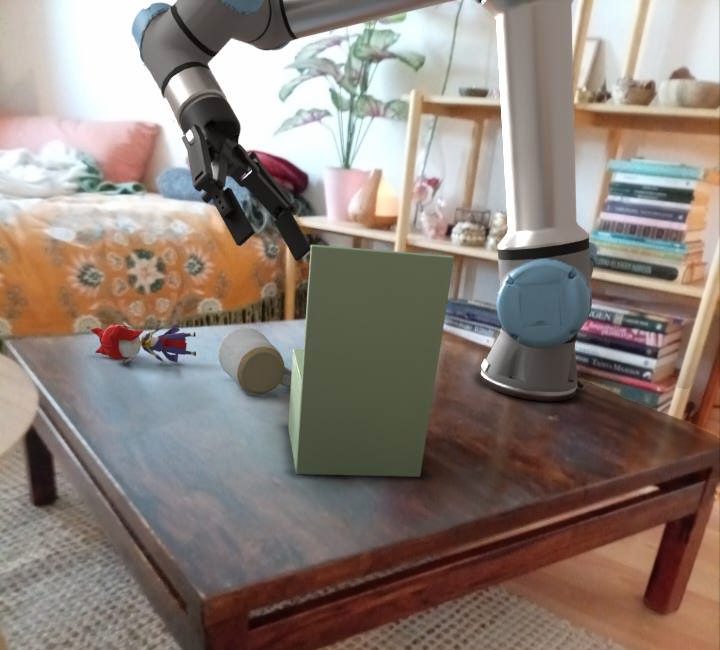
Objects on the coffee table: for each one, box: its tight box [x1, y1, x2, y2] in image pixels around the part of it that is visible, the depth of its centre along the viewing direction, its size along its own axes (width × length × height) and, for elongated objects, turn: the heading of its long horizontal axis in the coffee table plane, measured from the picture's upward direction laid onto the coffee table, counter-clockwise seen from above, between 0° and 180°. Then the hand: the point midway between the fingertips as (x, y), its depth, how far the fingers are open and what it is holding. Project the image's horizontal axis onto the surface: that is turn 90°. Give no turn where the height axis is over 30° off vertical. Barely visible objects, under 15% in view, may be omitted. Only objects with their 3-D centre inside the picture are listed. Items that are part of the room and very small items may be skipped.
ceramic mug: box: [218, 326, 292, 395], centre depth 99 cm, size 11×8×8 cm
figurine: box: [90, 321, 197, 366], centre depth 104 cm, size 6×8×15 cm
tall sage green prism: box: [287, 244, 455, 478], centre depth 78 cm, size 14×13×24 cm
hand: (276, 247), depth 93 cm, fingers open, 13 cm apart
